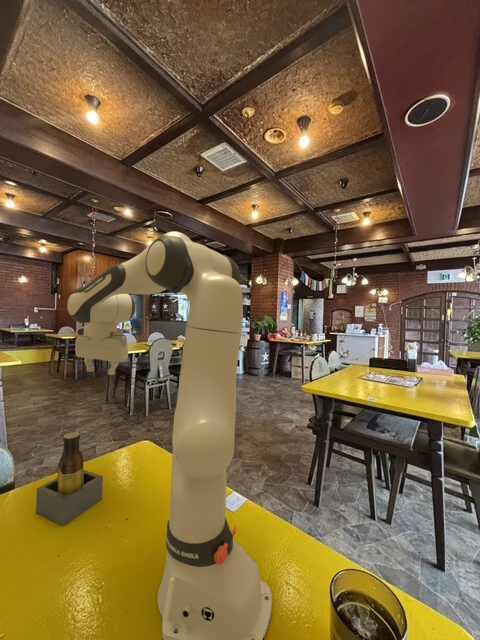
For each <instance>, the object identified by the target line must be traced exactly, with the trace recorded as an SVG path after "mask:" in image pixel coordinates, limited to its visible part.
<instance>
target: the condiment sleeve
mask: <svg viewBox="0 0 480 640" xmlns="http://www.w3.org/2000/svg"><path fill="white" fill-rule="evenodd" d="M103 482H104V476H103V475H101V474H97V473H95V472H91V471H89V470H85V469H84V474H83V486H81V487H80V488H78V489H76V490H75V491H73V492H71V493H70V494H68V495H66V496H65V495H63V494H60V493H58V477H56V478H54V479H52V480H50V481H48V482H46V483H44V484H42V485H40V486H38V487H36V501H35V514H37V515H38V516H41V517H42V518H45V519H48V520H49V521H50V522H51V521H52V522H54V523H56V524H58V525H60V526H62V527H65V526H66V525H67V524H68V523H70V522H71V521H73V520H74V519H76V518H77V517H78V516H80V515H82V514H83V513H84V512H86V511H87V510H88V509H90V508H92V507H93V506H94V505H95V504H97V503H98V502H100V501H102V500H103V486H104V485H103Z"/></svg>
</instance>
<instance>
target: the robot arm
mask: <svg viewBox="0 0 480 640" xmlns="http://www.w3.org/2000/svg"><path fill="white" fill-rule="evenodd" d="M240 281H241V271H240V267H239V266H238V264H237V262H235V260H234V259H232V258H230V257H228V256H227V255H225V254H221V253H220V252H218V251H216V250H214V249H211V248H210V247H207V246H206V245H204V244H201V243H199V242H194V241H192V240H191V238H189V237H188V236H187V235H186V234H184V233H182V232H179V231H176V230H175V231H168V232H166V233H164V234H162V235H160V236H158V237H157V238H156V239H155V240H154V241H152V242H151V243H150V244H149V245H148V246H147V247H146V248H144V250H142V251H141V252H140V253H139V254H137V255H136V256H134V257H133V258H130V259H129V260H126V261H124V262H122V263H119V264H116V265H113V266H111V267H109V268H107V269H105V271H103V272H101V274H99V275H98V276H96V277H95V278H93V280H91V281H89V283H87V284H86V285H84V286H82V287H77V288H76V289H75V290H73V291H72V292H71V293H70V295H69V296H68V299H67V302H66V309H67V314H68V316H70V317H71V318H72V319H73V320H74V321H75V322H76V323H78V324H86V325H84V326H81V327H79V328H77V329H76V330H75V335H76V336H77V337H76V338H75V346H74V347H75V349H74V351H75V355H76V357H77V358H84V359H83V362H84V364H85V366H86V372H90V373H91V372H94V371H95V365H93V363H92V361H93V360H99V361H107V362H109V365H110V368H108V369H107V375H109V376H114V375H116V369H117V367H118V366H119V363H123V362H126V361H127V360H128V358H129V348H128V347H129V346H128V342H127V341H128V338H127V336H126V335H125V334H124V333H123V332H118V323H125V322H126V323H127V322H129V321H131V319H132V318H133V317H134V315H135V312H136V303H135V300H134V298H133V297H132V296H131V295H133V294H135V295H155V294H159V293H161V292H163V291H166V290H167V291H169V292H171V294H174V295H176V294H178V293H180V292H181V293H183V294H184V295H185V296H186V297H187V299H188V302H189V306H188V313H187V320H186V327H185V334H184V340H183V343H184V344H183V349H182V356H181V365H180V373H179V383H178V389H177V399H176V406H175V410H174V416H173V425H172V427H173V429H172V436H171V437H172V439H171V440H172V441H171V442H172V445H171V446H172V458H171V476H170V477H171V478H170V501H169V519H168V521H167V525H166V537H165V538H166V539H165V546H166V547H165V548H166V550H167V552H166V559H165V565H164V571H163V576H162V578H161V582H160V585H159V588H158V591H157V598H156V599H157V600H156V601H157V602H156V603H157V608H158V611H159V614H160V616H161V621H162V622H161V637H162V639H163V640H263V638H264V636H265V634H266V635H267V633H268V630H269V627H268V626H270V623H271V618H272V612H273V611H272V610H273V599H272V591H271V588H270V586H269V584H268V583H266V582H265V581H263V580H261V577H260V576H261V574H260V569H259V568H258V565H257V563H256V562H255V560H254V559H252V558H251V556H250V555H248V553H247V552H245V549H244V547H243V546H241V545H239V544H238V543H237V542H236V541H235V540H234V537H235V535H236V533H237V532H236V531H237V524H235V525H234V527H233V528H232V530H230V529H231V528H230V526H229V523H228V519H227V517H226V511H227V510H226V506H227V487H228V486H227V485H228V484H227V483H228V482H227V472H226V469H228V467H229V466H230V464H231V462H232V460H233V457H234V454H235V431H236V414H237V413H236V410H237V409H236V408H237V369H238V362H239V353H240V346H241V338H242V337H241V336H242V328H243V314H244V313H243V312H244V308H243V307H244V305H243V302H244V301H243V300H244V299H243V291H242V287H241V285H240ZM130 294H131V295H130ZM269 622H270V623H269ZM267 629H268V630H267ZM266 632H267V633H266ZM265 637H266V636H265ZM264 639H265V638H264Z"/></svg>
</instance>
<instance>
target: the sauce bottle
mask: <svg viewBox="0 0 480 640" xmlns="http://www.w3.org/2000/svg"><path fill="white" fill-rule="evenodd" d="M62 438H63V439H62V442H63V451H62V454H61V456H60V458H59V461H58V464H57V478H58V493H60V494H63V495H65V496H66V495H68V494H70V493H71V492H73V491H75V490H76V489H78V488H80V487H81V486H83V474H84V470H85V469H84V468H85V467H84V466H85V465H84V454H83V453H82V451H81V450H80V439H81V434H80V432H77V431H73V432H68V433H65V434H64V435H63V437H62Z"/></svg>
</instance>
